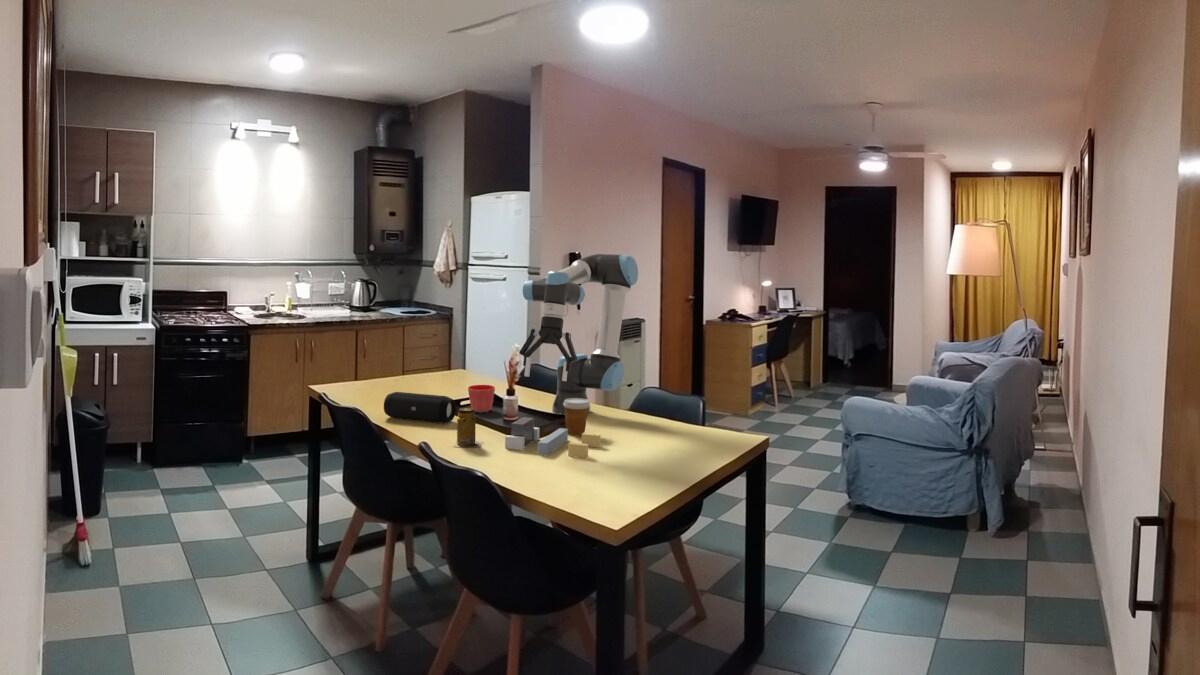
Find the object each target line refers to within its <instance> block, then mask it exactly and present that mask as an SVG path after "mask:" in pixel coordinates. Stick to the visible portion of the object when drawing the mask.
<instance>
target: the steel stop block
mask: <svg viewBox="0 0 1200 675" xmlns="http://www.w3.org/2000/svg"><path fill="white" fill-rule="evenodd" d="M534 427H535V418H534V417H527V416H523V417H521V418H519V419H517V420H515V421H513V422H511V428H510V429H511V431H510V432H511V433H510V434H511V435H512V436H521V437H525V443H524V448H525V447H527V446H528V445H530V444H532V443H533V442H534V441H535V440H534Z"/></svg>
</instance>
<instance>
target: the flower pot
mask: <svg viewBox="0 0 1200 675" xmlns="http://www.w3.org/2000/svg"><path fill="white" fill-rule="evenodd" d="M467 391H468V392H467V393H468V398H469V402H470V403H469V404H470V408H472V409H474V410H475V411H489V410H491V411H492V408H493V403H494V397H495V391H496V387H495V386H494V385H491V384H473V385H470V386H468V388H467Z"/></svg>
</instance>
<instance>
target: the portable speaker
mask: <svg viewBox="0 0 1200 675" xmlns="http://www.w3.org/2000/svg"><path fill="white" fill-rule="evenodd" d="M383 411H384V414H385V415H387V416H388V417H390V418H392V419H397V420H404V421H405V420H407V421H414V422H415V421H416V422H425V423H429V422H430V423H437V424H445V423H449V422H451V421H453V420H454V418H455V416H456V412H457V406H456V401H455V400H454V399H453V398H452V397H449V396H446V395H439V394H438V395H435V394H425V393H413V392H402V391H394V392H391V393H388V394H387V395H386V396H385V398H384V401H383Z"/></svg>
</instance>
